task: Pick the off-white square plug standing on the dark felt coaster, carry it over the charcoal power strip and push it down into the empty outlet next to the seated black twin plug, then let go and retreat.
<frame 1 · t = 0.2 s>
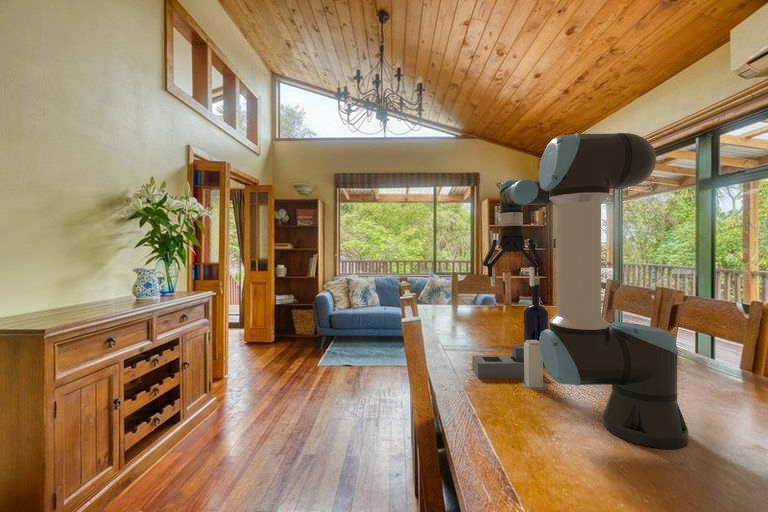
hand: (512, 286, 129), 27 cm above the table, fingers open, 13 cm apart
plug: (533, 384, 108), resting on coaster
bottle: (536, 361, 132), on the table
coaster: (533, 386, 108), on the table
strip: (506, 374, 118), on the table
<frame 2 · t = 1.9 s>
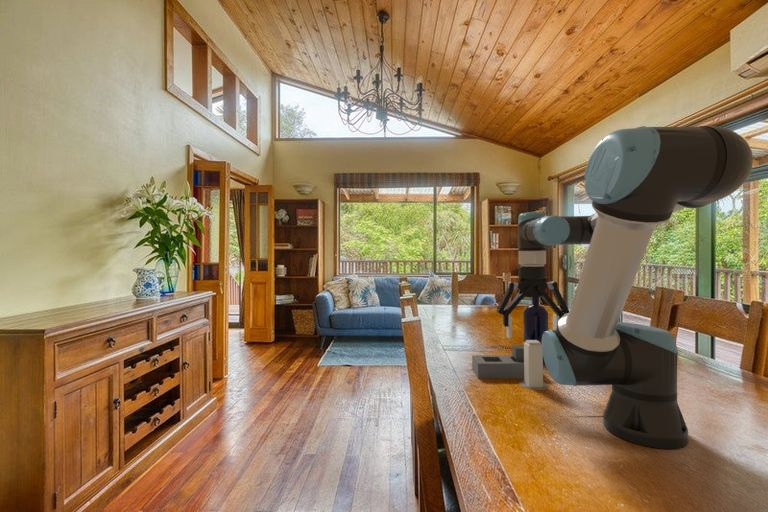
hand: (532, 337, 108), 14 cm above the table, fingers open, 13 cm apart
nothing on the table moved.
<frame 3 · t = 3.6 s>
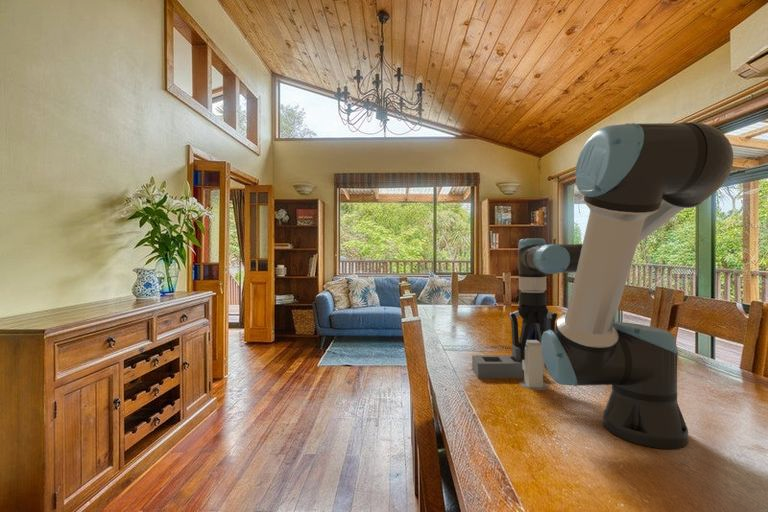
hand: (533, 370, 108), 5 cm above the table, fingers closed on plug, 4 cm apart
plug: (533, 384, 108), resting on coaster, touching gripper
everything else where it was.
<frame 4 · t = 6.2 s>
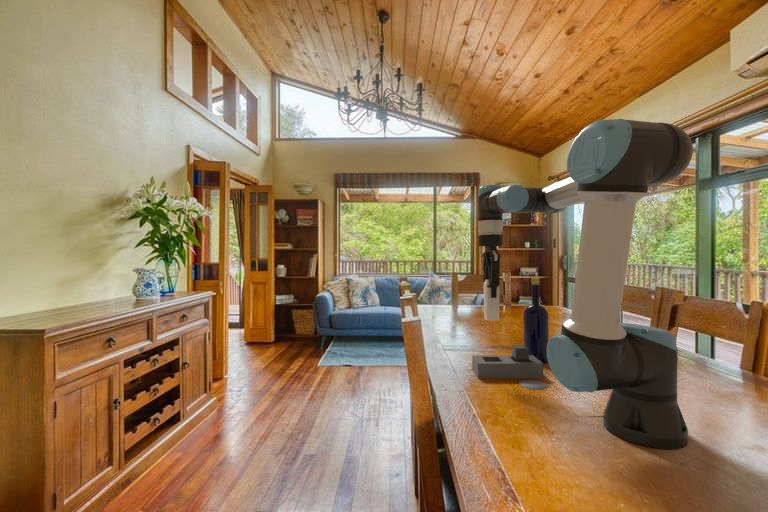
hand: (491, 306, 118), 22 cm above the table, fingers closed on plug, 4 cm apart
plug: (491, 319, 118), point 18 cm above the table, touching gripper
everything else where it was.
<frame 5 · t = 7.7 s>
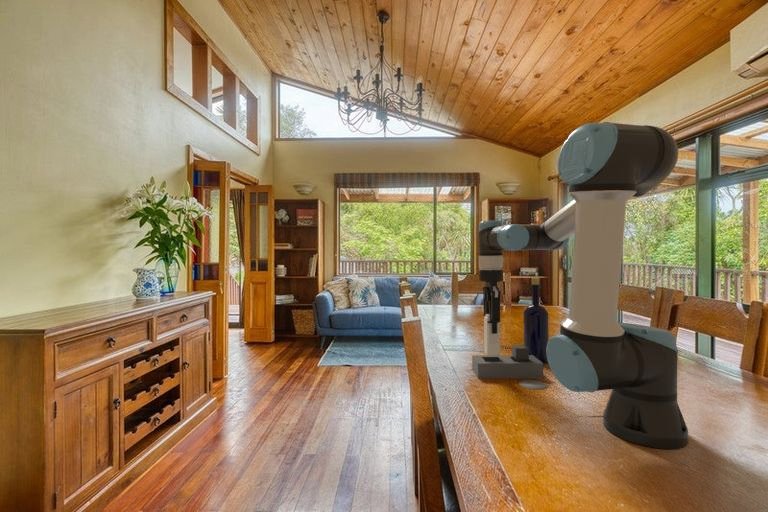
hand: (491, 341, 118), 11 cm above the table, fingers closed on plug, 4 cm apart
plug: (492, 354, 118), point 7 cm above the table, touching gripper
everything else where it was.
when the fingers open (6 cm above the table, at t = 8.9 s): plug stays where it is, resting on strip.
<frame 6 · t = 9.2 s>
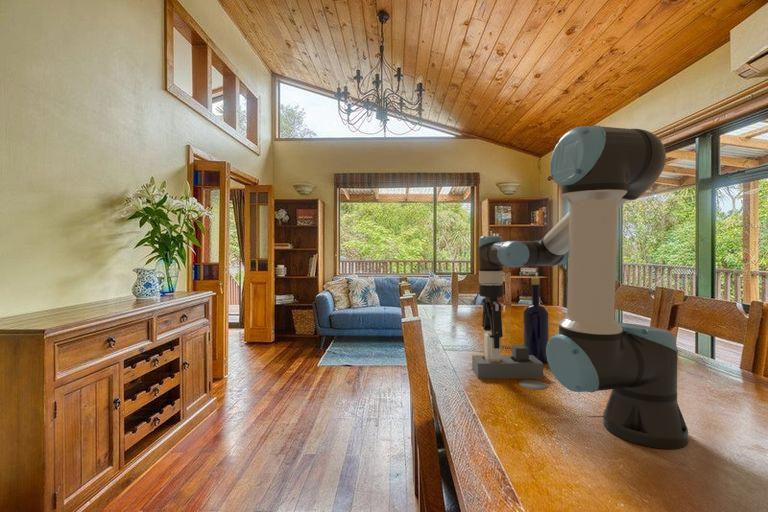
hand: (492, 353, 118), 7 cm above the table, fingers open, 9 cm apart
plug: (492, 371, 118), point 1 cm above the table, touching strip
everything else where it was.
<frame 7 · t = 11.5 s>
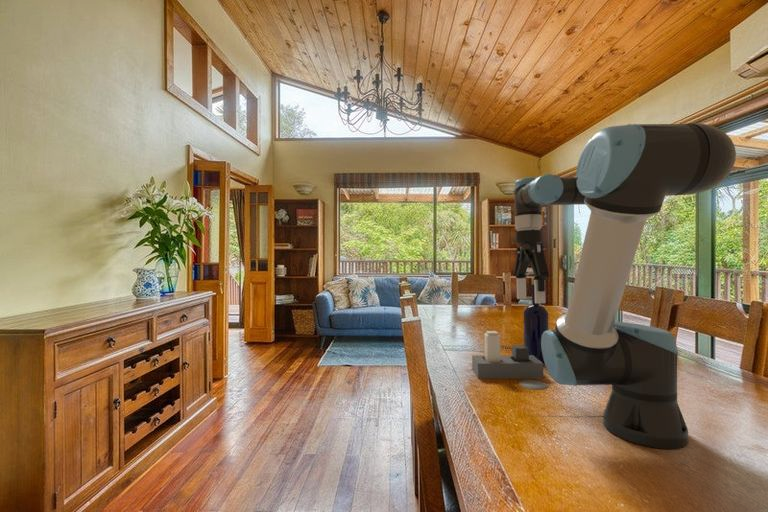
hand: (530, 301, 110), 25 cm above the table, fingers open, 13 cm apart
nothing on the table moved.
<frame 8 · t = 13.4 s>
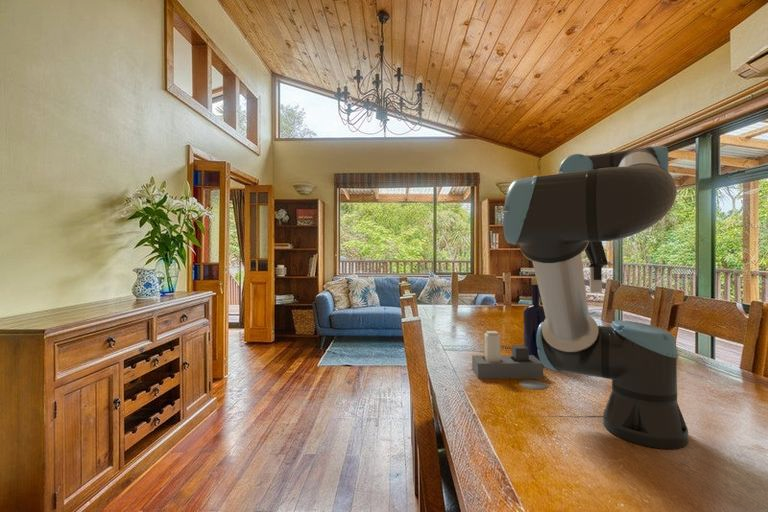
hand: (582, 290, 102), 29 cm above the table, fingers open, 13 cm apart
nothing on the table moved.
at the end: plug 0.1 cm from the target spot on the strip, point 1.0 cm above the strip's base; plug tilted 0°; the gripper is holding nothing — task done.
